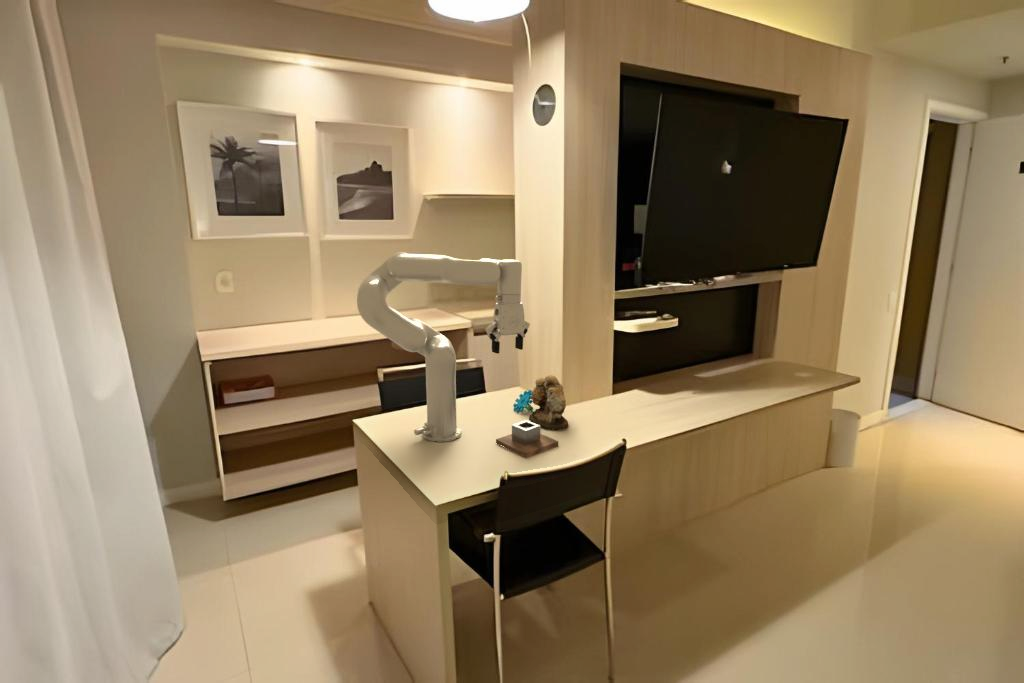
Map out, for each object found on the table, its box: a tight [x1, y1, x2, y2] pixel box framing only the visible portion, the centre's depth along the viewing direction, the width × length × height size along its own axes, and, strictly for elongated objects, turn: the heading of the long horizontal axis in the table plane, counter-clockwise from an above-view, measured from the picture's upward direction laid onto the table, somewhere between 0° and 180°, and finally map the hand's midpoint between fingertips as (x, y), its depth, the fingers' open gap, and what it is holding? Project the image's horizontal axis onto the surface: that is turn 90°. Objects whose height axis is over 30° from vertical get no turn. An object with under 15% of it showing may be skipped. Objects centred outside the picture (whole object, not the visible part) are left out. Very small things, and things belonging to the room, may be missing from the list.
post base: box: [495, 427, 559, 459], centre depth 175 cm, size 14×14×6 cm
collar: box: [511, 419, 542, 446], centre depth 175 cm, size 6×6×5 cm
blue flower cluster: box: [512, 389, 534, 414], centre depth 206 cm, size 11×6×10 cm
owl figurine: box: [528, 374, 569, 431], centre depth 194 cm, size 18×12×17 cm, turn 34°
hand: (507, 350), depth 181 cm, fingers open, 9 cm apart
